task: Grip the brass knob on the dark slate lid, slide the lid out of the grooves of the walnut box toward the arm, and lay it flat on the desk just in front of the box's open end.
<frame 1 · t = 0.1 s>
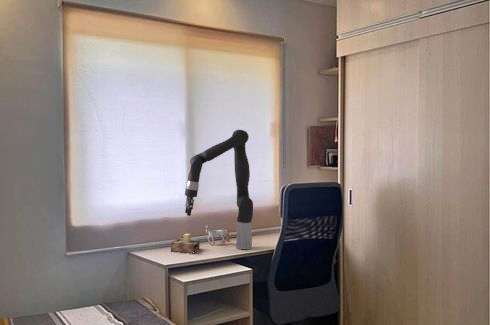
hand: (187, 214, 306), 22 cm above the table, tool pointing down, fingers open, 8 cm apart
unicorn figurine: (216, 246, 320), on the table
walnut box: (185, 250, 306), on the table
slate lid: (186, 243, 306), point 4 cm above the table, touching walnut box
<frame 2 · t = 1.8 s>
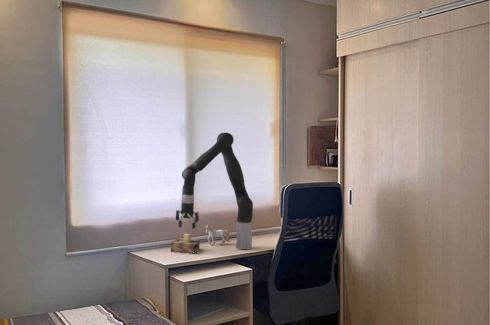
hand: (186, 227, 305), 14 cm above the table, tool pointing down, fingers open, 8 cm apart
nothing on the table moved.
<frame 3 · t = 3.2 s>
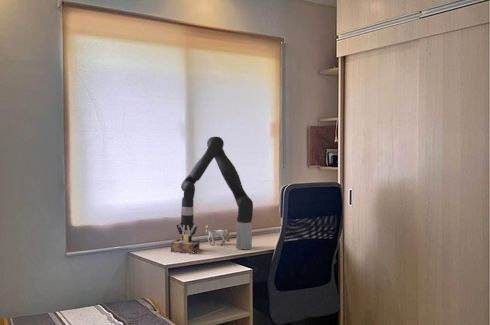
hand: (186, 241, 305), 6 cm above the table, tool pointing down, fingers closed on slate lid, 3 cm apart
slate lid: (186, 243, 305), point 5 cm above the table, touching gripper, walnut box
everything else where it was.
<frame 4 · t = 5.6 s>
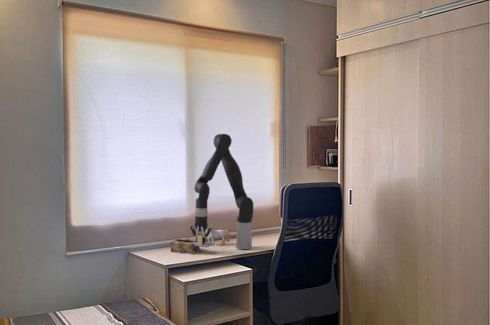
hand: (200, 242, 303), 6 cm above the table, tool pointing down, fingers closed on slate lid, 3 cm apart
slate lid: (200, 244, 303), point 5 cm above the table, touching gripper
everything else where it was.
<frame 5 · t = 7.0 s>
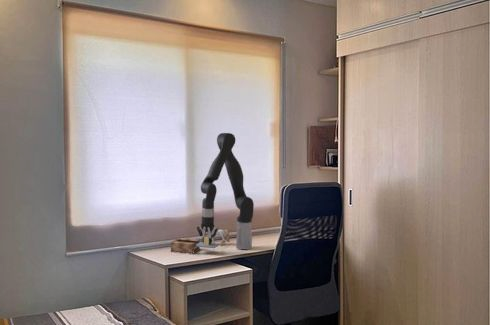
hand: (207, 243, 302), 6 cm above the table, tool pointing down, fingers closed on slate lid, 3 cm apart
slate lid: (207, 245, 302), point 5 cm above the table, touching gripper
everything else where it was.
when the fingers open (2 cm above the table, at t = 8.2 s): slate lid drops 2 cm, on the table.
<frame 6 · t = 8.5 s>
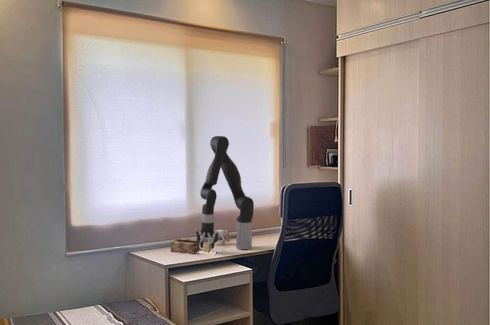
hand: (207, 248, 302), 3 cm above the table, tool pointing down, fingers open, 6 cm apart
slate lid: (207, 253, 303), on the table
everything else where it was.
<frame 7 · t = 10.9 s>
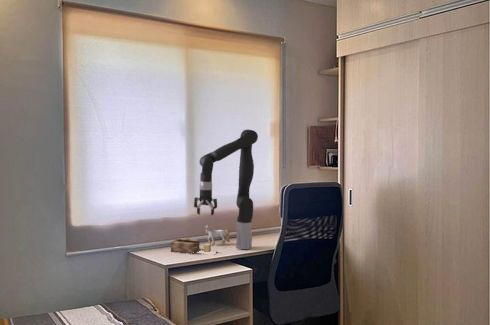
hand: (205, 214, 305), 23 cm above the table, tool pointing down, fingers open, 8 cm apart
nothing on the table moved.
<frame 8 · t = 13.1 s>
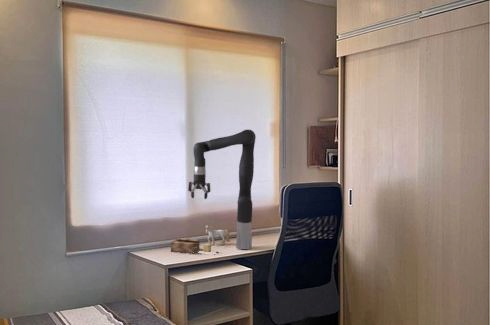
hand: (199, 198, 319), 30 cm above the table, tool pointing down, fingers open, 8 cm apart
nothing on the table moved.
at the end: slate lid inside the target area (0.7 cm from its centre), on the table; slate lid tilted 0°; the gripper is holding nothing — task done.
